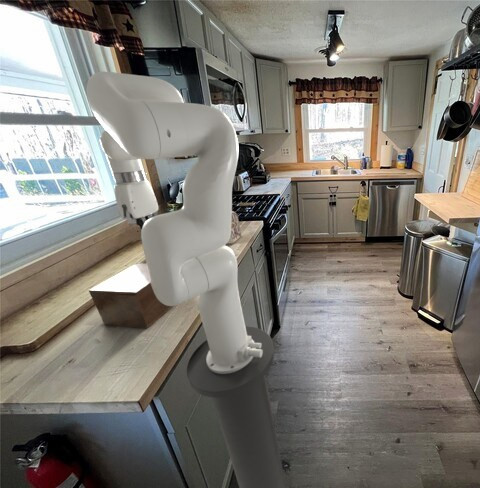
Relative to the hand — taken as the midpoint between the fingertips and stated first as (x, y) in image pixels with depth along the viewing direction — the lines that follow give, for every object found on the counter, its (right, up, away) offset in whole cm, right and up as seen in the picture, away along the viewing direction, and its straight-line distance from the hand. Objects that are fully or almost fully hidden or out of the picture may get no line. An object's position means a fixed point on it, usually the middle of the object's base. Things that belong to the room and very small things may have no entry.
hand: (150, 236), depth 82 cm
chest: (-5, -24, +6) cm, 26 cm away
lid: (-5, -13, +1) cm, 14 cm away
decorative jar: (+1, 0, +63) cm, 63 cm away
